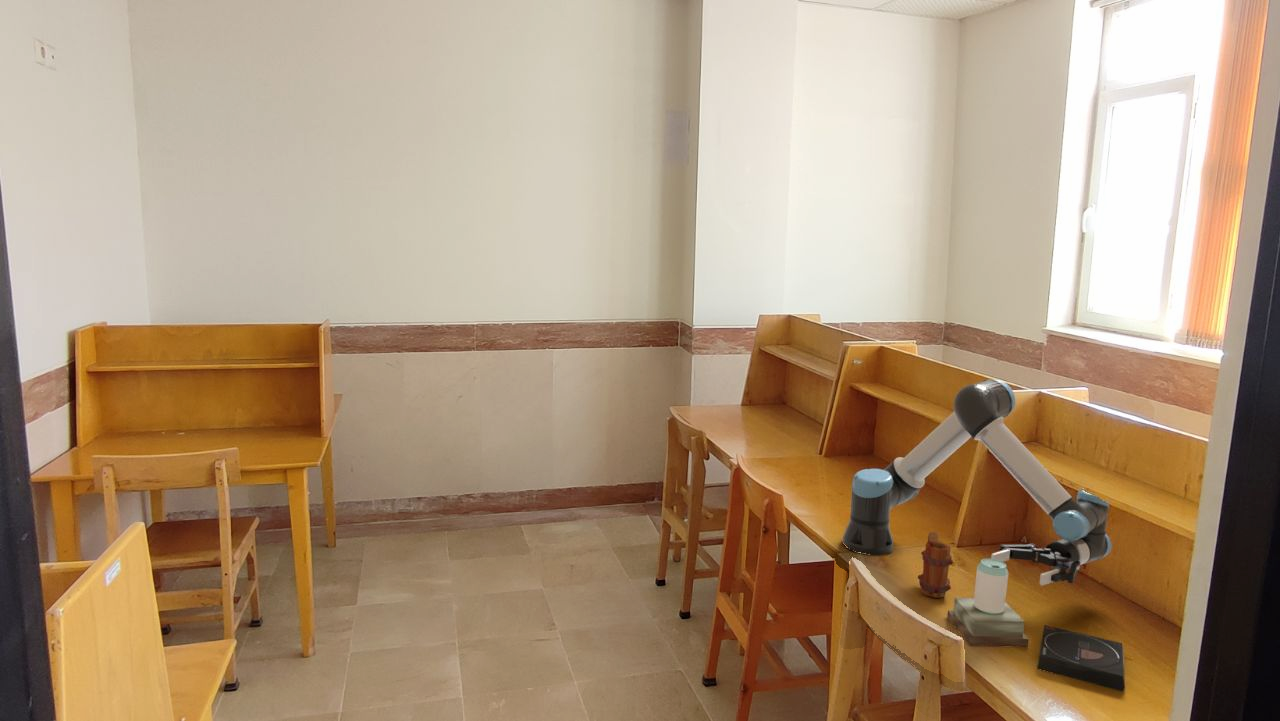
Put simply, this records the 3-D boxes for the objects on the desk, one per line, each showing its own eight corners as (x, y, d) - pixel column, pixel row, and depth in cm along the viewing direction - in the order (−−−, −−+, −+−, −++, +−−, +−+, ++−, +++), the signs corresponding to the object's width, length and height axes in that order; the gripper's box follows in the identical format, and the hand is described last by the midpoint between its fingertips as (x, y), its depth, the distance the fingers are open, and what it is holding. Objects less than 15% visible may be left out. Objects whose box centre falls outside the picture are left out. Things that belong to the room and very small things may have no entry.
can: (1010, 611, 201) (1015, 565, 199) (992, 618, 197) (997, 571, 195) (984, 599, 207) (989, 555, 205) (967, 606, 203) (971, 560, 201)
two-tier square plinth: (947, 617, 210) (949, 595, 209) (1001, 618, 210) (1003, 596, 209) (970, 645, 196) (972, 622, 195) (1028, 646, 196) (1030, 623, 195)
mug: (951, 603, 217) (957, 550, 215) (919, 600, 219) (924, 546, 216) (943, 580, 232) (948, 529, 229) (913, 577, 233) (917, 526, 231)
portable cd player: (1124, 693, 178) (1126, 676, 178) (1037, 670, 187) (1039, 654, 186) (1122, 659, 192) (1125, 644, 192) (1042, 639, 201) (1044, 624, 200)
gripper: (1111, 585, 206) (1061, 603, 195) (1022, 550, 227) (972, 564, 216) (1115, 557, 205) (1065, 574, 194) (1024, 524, 226) (974, 538, 215)
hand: (1016, 569), depth 205 cm, fingers open, 13 cm apart
